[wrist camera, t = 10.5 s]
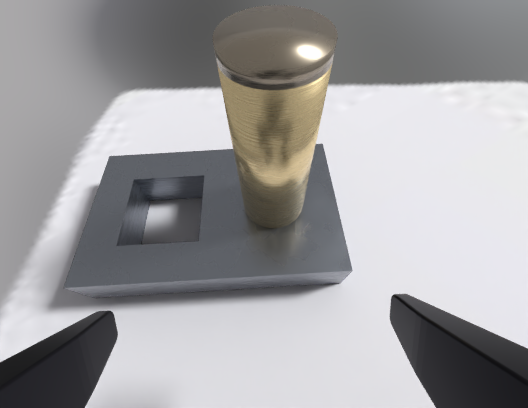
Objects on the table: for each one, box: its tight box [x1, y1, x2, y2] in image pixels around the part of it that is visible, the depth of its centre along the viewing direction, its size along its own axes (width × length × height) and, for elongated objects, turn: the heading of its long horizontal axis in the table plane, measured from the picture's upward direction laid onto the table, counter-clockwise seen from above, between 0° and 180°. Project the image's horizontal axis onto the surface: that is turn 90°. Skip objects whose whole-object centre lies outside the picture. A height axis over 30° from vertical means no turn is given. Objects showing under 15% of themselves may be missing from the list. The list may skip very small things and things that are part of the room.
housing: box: [64, 144, 352, 298], centre depth 22 cm, size 12×20×4 cm, turn 93°
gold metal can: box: [213, 5, 337, 228], centre depth 15 cm, size 5×5×12 cm
